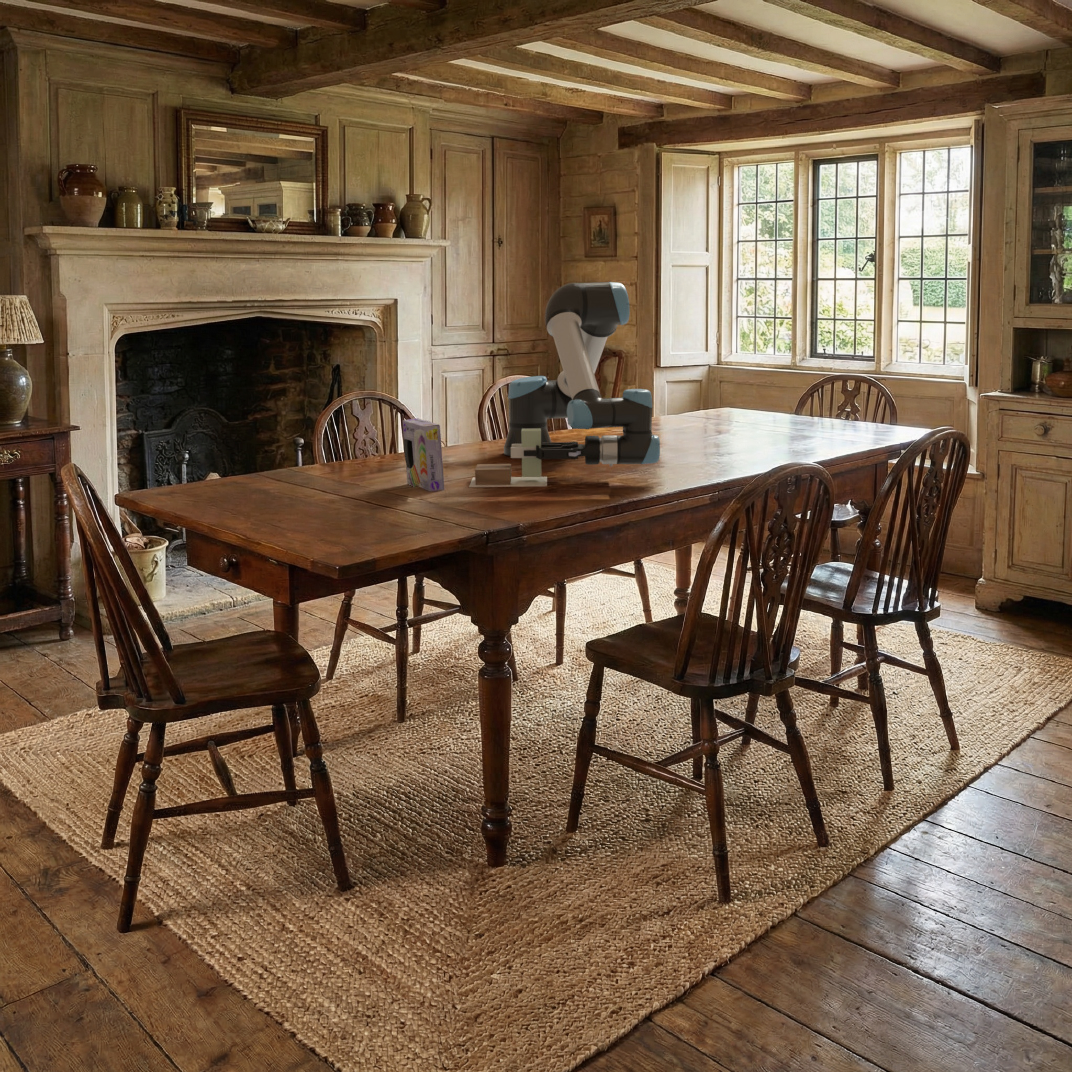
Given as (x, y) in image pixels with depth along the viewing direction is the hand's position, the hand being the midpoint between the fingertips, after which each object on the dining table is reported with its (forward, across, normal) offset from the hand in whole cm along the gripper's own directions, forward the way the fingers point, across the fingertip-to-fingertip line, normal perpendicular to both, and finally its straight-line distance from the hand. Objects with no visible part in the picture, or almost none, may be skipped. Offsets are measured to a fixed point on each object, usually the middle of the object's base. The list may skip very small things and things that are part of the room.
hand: (511, 450), depth 304 cm
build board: (+1, -1, -9) cm, 9 cm away
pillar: (-5, 0, -6) cm, 8 cm away
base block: (+5, -1, -8) cm, 9 cm away
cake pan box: (+23, -4, -9) cm, 25 cm away
